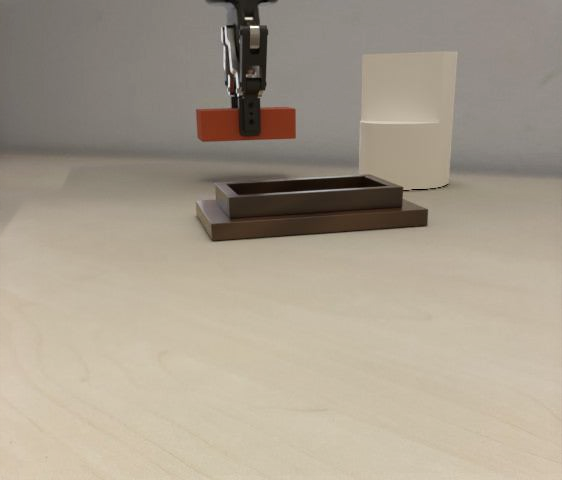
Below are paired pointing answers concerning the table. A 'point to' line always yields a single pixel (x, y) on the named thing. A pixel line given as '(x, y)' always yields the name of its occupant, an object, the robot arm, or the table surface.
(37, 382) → the table surface
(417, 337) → the table surface
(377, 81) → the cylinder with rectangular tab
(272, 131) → the red rectangular block
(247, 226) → the dark wooden tray
